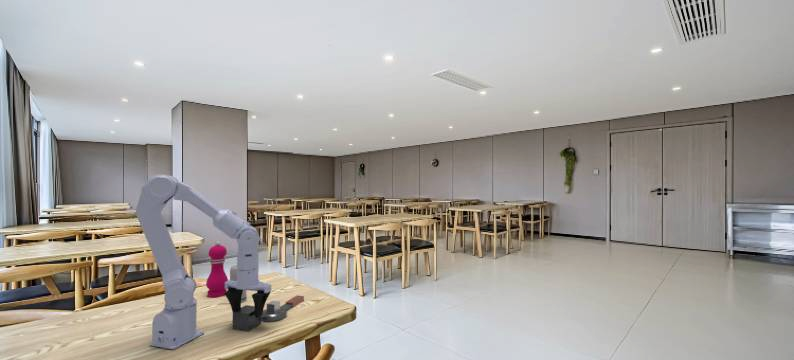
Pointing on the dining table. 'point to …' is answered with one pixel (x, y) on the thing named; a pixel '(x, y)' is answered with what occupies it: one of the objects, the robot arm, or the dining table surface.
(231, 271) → the energy drink
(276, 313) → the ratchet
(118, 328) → the dining table surface
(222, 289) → the pepper mill
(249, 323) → the dark grey brushed cube
